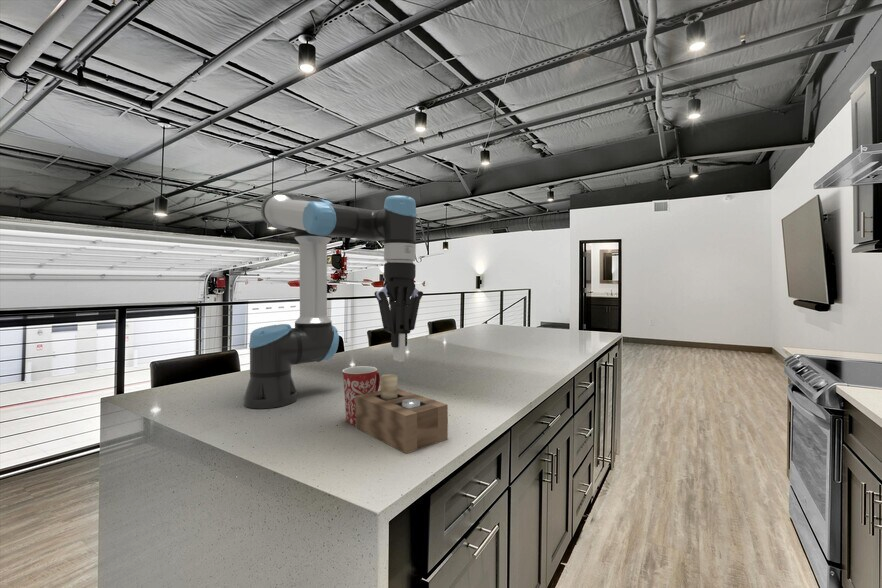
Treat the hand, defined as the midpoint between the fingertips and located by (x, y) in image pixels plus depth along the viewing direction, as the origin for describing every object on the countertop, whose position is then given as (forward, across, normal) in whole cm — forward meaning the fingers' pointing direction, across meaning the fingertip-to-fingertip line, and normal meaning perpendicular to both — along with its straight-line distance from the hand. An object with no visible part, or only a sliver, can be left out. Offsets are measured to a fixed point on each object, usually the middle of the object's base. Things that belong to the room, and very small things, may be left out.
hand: (399, 360), depth 94 cm
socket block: (+18, 0, 0) cm, 18 cm away
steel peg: (+17, 0, -5) cm, 18 cm away
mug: (+18, -1, +15) cm, 23 cm away
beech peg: (+13, 0, +4) cm, 13 cm away
